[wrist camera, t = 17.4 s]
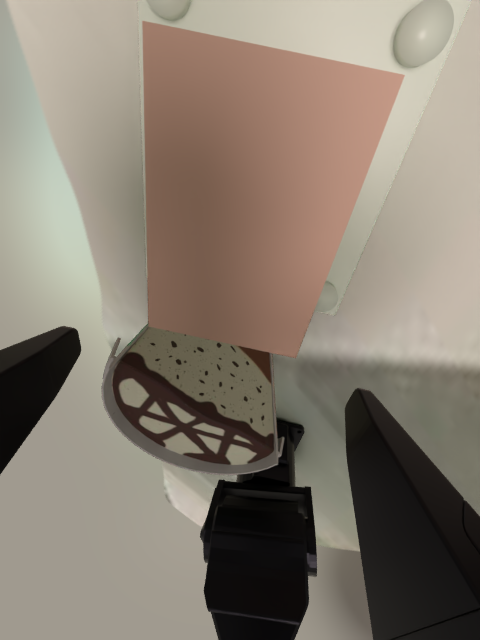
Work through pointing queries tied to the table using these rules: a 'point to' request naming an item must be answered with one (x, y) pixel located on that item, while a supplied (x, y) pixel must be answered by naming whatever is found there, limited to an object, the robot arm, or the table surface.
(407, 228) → the table surface
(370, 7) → the build plate
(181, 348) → the food container
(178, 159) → the terracotta brick
